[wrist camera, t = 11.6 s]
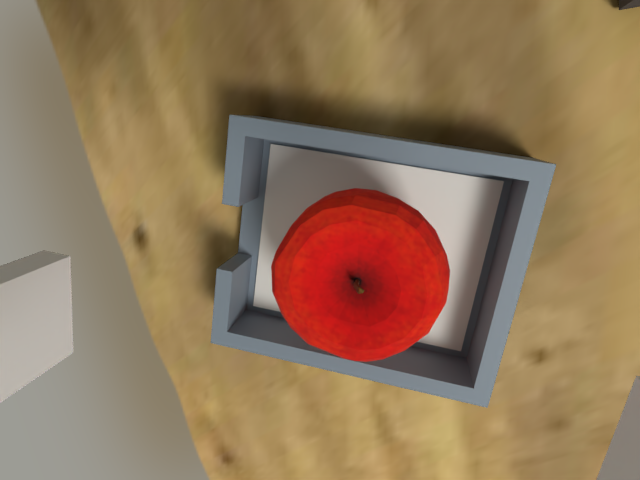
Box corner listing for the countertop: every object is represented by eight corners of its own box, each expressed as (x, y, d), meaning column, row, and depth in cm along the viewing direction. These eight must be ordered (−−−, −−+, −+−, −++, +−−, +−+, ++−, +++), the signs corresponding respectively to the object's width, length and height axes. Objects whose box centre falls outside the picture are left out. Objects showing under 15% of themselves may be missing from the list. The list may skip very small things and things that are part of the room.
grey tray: (256, 115, 29) (229, 114, 25) (533, 157, 26) (556, 164, 22) (236, 314, 33) (210, 342, 29) (476, 367, 30) (487, 407, 26)
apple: (322, 324, 30) (293, 389, 23) (281, 199, 29) (236, 225, 21) (457, 296, 28) (473, 358, 21) (421, 158, 27) (425, 172, 19)
